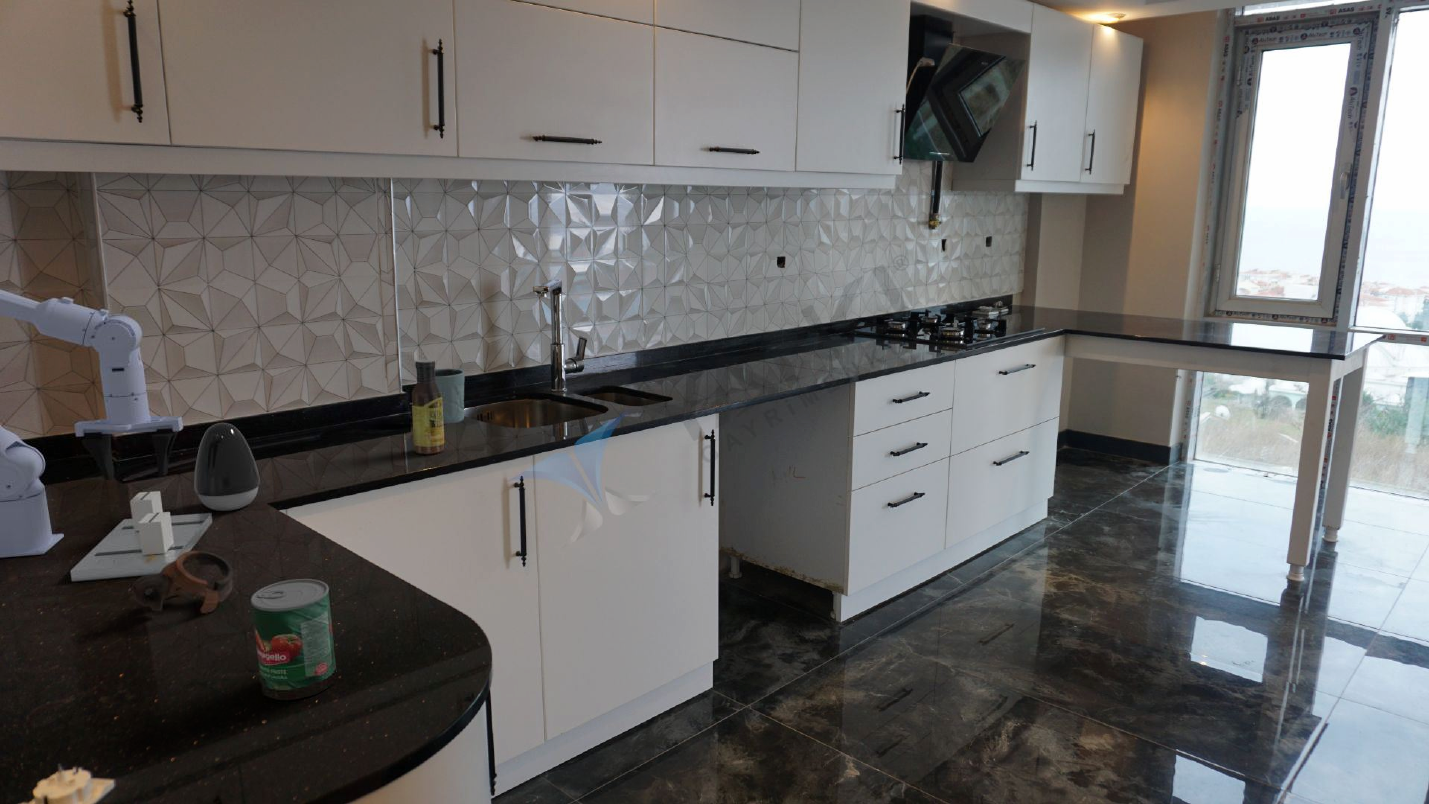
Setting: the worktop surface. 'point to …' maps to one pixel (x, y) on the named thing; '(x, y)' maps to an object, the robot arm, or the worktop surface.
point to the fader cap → (155, 533)
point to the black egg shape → (225, 469)
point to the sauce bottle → (427, 410)
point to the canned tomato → (293, 633)
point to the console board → (138, 550)
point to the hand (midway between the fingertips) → (136, 476)
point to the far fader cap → (145, 506)
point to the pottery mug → (184, 582)
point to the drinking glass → (451, 393)
